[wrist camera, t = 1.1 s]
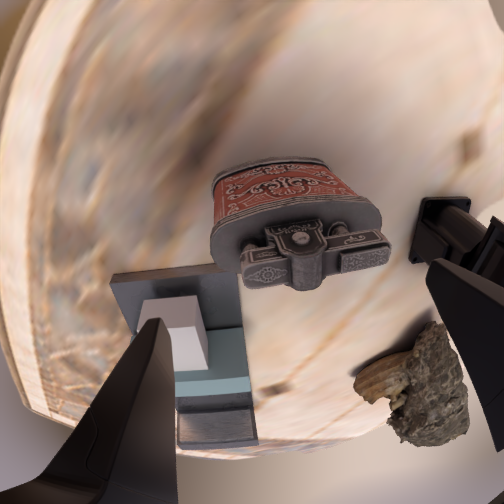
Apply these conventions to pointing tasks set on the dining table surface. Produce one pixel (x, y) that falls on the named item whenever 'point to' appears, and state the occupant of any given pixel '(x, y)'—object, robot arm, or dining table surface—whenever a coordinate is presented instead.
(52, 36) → the dining table surface
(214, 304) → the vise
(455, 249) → the robot arm
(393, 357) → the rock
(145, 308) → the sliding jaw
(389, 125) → the dining table surface
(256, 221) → the lighter
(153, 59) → the dining table surface
